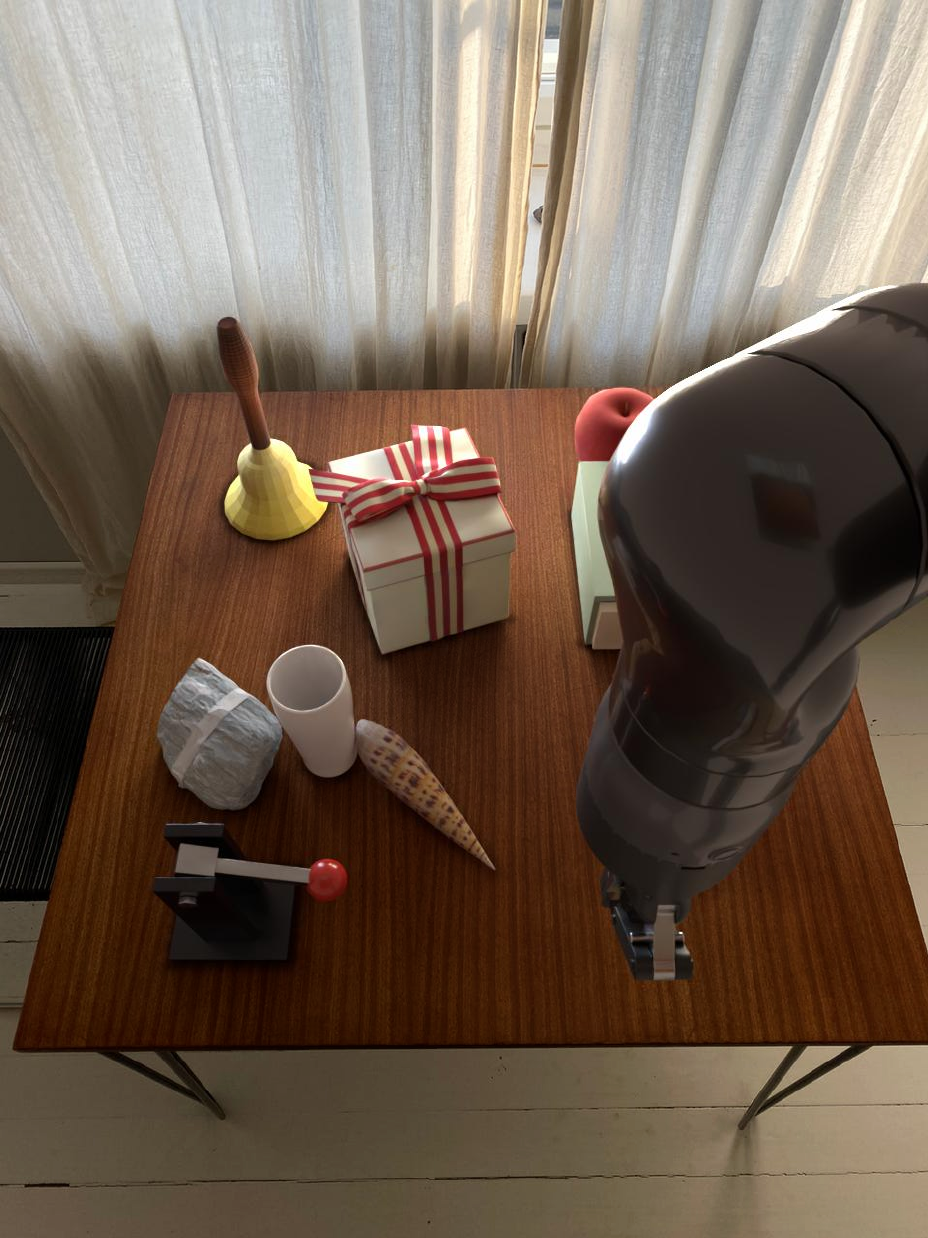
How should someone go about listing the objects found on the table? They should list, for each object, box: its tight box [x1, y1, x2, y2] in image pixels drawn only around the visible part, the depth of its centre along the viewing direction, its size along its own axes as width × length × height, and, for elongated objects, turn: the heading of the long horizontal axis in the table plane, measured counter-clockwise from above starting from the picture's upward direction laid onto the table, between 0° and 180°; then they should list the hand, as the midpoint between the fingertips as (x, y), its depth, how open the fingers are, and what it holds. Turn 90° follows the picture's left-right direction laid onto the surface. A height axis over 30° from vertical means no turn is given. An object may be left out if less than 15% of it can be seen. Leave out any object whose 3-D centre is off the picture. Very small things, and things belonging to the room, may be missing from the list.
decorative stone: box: [156, 657, 284, 811], centre depth 83 cm, size 13×10×6 cm
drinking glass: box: [266, 644, 358, 778], centre depth 79 cm, size 7×7×15 cm
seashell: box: [355, 718, 496, 871], centre depth 80 cm, size 4×18×5 cm, turn 43°
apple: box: [574, 387, 655, 462], centre depth 100 cm, size 11×11×12 cm
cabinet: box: [570, 461, 616, 645], centre depth 93 cm, size 18×14×9 cm
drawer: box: [591, 601, 623, 650], centre depth 91 cm, size 21×13×7 cm, turn 1°
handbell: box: [215, 316, 329, 541], centre depth 93 cm, size 12×12×25 cm
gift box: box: [308, 424, 517, 655], centre depth 89 cm, size 17×18×17 cm
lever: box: [171, 843, 348, 902], centre depth 66 cm, size 13×3×3 cm, turn 90°
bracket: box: [151, 822, 299, 964], centre depth 70 cm, size 10×8×16 cm
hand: (619, 895), depth 48 cm, fingers closed
